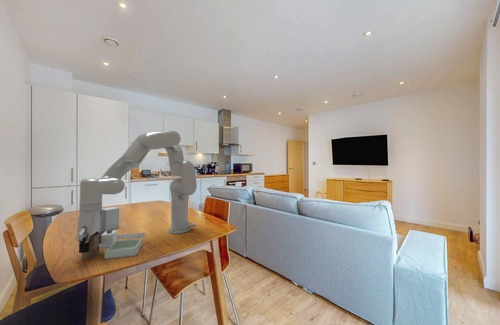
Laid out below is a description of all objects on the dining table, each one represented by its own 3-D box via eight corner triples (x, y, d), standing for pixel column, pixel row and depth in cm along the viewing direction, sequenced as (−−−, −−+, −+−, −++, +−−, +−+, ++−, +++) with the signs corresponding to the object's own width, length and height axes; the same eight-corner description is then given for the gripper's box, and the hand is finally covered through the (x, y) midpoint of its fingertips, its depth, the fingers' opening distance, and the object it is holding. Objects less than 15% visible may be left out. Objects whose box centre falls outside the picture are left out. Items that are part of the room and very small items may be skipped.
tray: (141, 245, 96) (142, 238, 96) (135, 256, 85) (136, 248, 85) (114, 248, 93) (114, 241, 93) (104, 259, 81) (104, 251, 82)
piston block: (117, 239, 102) (117, 227, 102) (112, 244, 97) (113, 231, 97) (105, 240, 101) (106, 228, 101) (100, 245, 95) (101, 232, 95)
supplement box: (119, 228, 121) (119, 207, 121) (105, 231, 115) (105, 210, 115) (113, 226, 125) (113, 206, 125) (99, 229, 119) (100, 208, 119)
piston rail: (144, 236, 109) (144, 227, 109) (140, 243, 98) (140, 233, 98) (102, 240, 103) (102, 230, 103) (92, 248, 92) (92, 238, 92)
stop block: (98, 254, 87) (99, 233, 87) (94, 258, 82) (94, 237, 82) (86, 255, 85) (87, 234, 85) (81, 260, 81) (81, 238, 81)
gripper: (90, 204, 91) (89, 240, 91) (68, 212, 75) (67, 257, 74) (108, 203, 93) (107, 239, 93) (92, 211, 77) (90, 255, 77)
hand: (89, 247), depth 84 cm, fingers open, 9 cm apart
